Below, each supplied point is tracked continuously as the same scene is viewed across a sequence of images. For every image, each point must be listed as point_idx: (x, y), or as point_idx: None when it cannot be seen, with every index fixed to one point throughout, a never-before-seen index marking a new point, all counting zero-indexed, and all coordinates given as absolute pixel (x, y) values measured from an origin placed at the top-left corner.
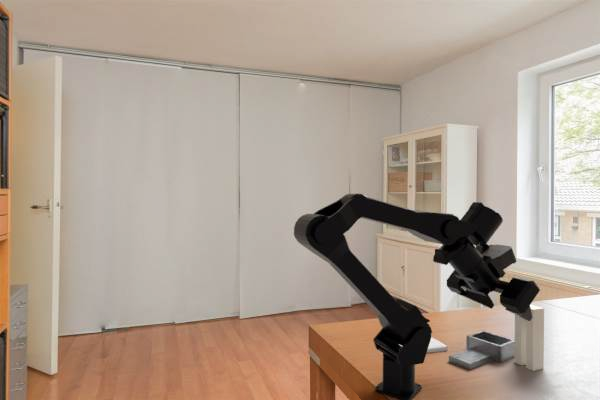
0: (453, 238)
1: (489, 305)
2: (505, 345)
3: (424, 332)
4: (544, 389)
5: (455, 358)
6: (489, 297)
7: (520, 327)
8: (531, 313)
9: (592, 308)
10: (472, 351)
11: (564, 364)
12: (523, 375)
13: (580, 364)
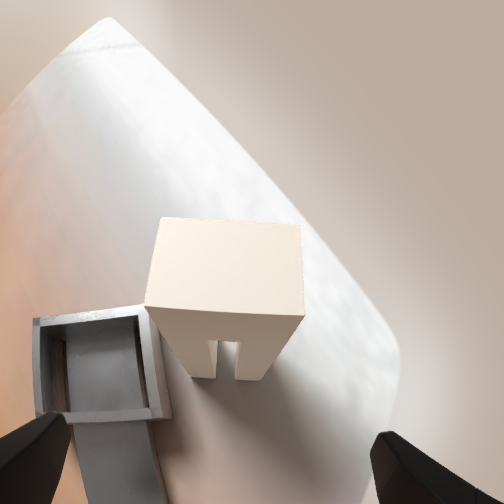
0: None
1: (60, 458)
2: (157, 383)
3: None
4: (356, 447)
5: None
6: (25, 456)
7: (204, 349)
8: (418, 450)
9: (124, 31)
10: (98, 458)
11: None
12: (272, 433)
13: (274, 221)
